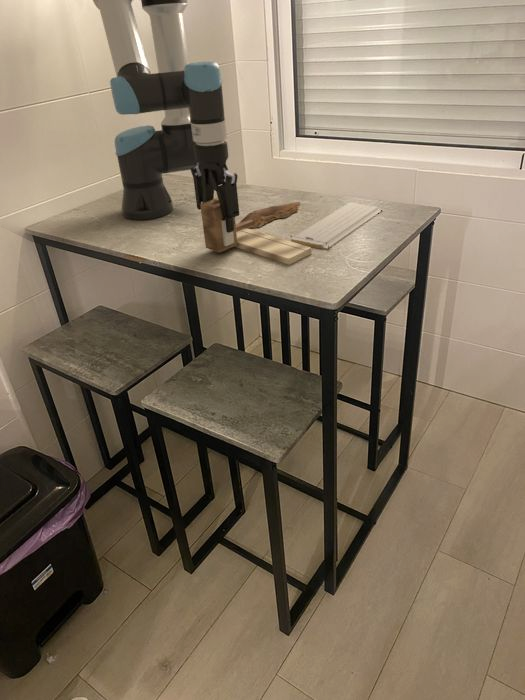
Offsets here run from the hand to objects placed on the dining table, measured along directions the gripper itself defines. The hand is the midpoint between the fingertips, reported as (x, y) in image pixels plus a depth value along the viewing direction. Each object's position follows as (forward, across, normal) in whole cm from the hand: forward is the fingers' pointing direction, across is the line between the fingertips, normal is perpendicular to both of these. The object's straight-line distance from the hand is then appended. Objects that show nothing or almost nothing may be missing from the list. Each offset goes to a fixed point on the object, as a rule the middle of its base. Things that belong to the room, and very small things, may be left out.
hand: (221, 241), depth 130 cm
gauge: (+1, 0, +4) cm, 4 cm away
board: (+2, +8, +8) cm, 11 cm away
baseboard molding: (+3, +14, +30) cm, 33 cm away
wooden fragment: (+3, -8, +26) cm, 27 cm away
